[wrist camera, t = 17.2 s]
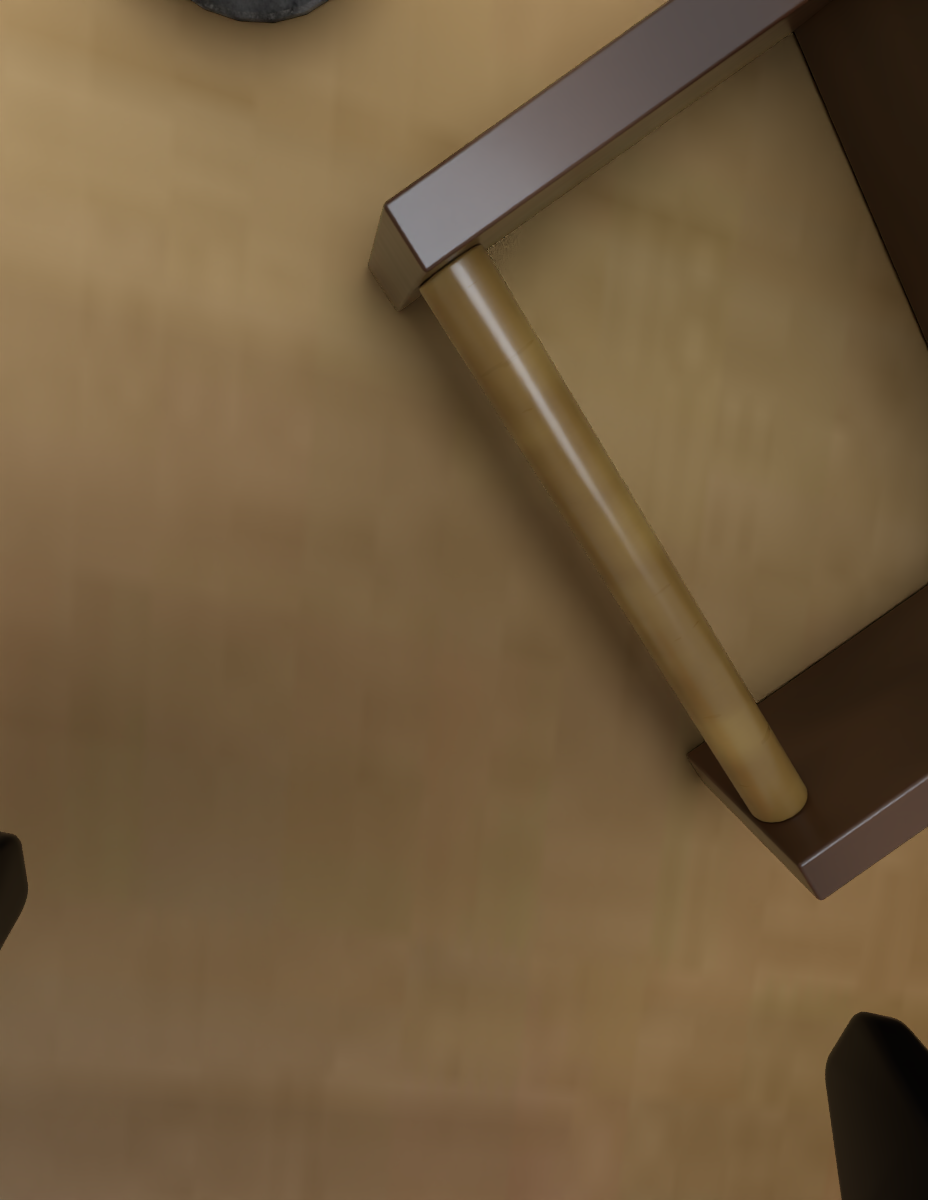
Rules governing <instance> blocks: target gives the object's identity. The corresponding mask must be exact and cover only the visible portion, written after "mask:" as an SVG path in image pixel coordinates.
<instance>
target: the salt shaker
mask: <svg viewBox="0 0 928 1200" xmlns="http://www.w3.org/2000/svg"><path fill="white" fill-rule="evenodd" d="M192 1H193V2H195V3H196V4H198V5H199V6H201V7H202V8H204V9H206V10H209V11H212V12H215V13H218V14H221V15H224V16H227V17H229V18H232V19H235V20H238V21H254V22H272V23H274V22H277V21H281V20H285V19H289V18H293V17H297V16H301V15H305V14H307V13H309V12H310V11H312V10H313V9H315V8H317V7H318V6H320V5H321V4H323V3H325V2H326V1H328V0H192Z"/></svg>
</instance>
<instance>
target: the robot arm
mask: <svg viewBox="0 0 928 1200" xmlns="http://www.w3.org/2000/svg"><path fill="white" fill-rule="evenodd" d="M27 894H28V882H27V876H26V869H25V863H24V856H23V850H22V844H21V841H20V840H19V838H18V837H17V836H16V835H13V834H10V833H5V832H0V949H1V948H2V946H3V944H4V942H5V940H6V939H7V937H8V935H9V933H10V931H11V930H12V928H13V926H14V924H15V922H16V921H17V919H18V917H19V915H20V914H21V912H22V910H23V907H24V905H25V902H26V899H27ZM825 1080H826V1089H827V1096H828V1104H829V1111H830V1118H831V1126H832V1133H833V1140H834V1147H835V1155H836V1162H837V1169H838V1177H839V1184H840V1191H841V1198H842V1200H928V1050H927V1048H926V1047H925V1046H924V1045H923V1044H922V1043H921V1042H920V1040H919V1039H918V1038H917V1037H916V1036H915V1035H914V1033H913V1032H912V1031H911V1030H910V1029H909V1028H908V1027H907V1026H906V1025H905V1024H904V1023H902V1022H901V1021H899V1020H898V1019H895V1018H892V1017H887V1016H883V1015H878V1014H873V1013H868V1012H860V1013H857V1014H855V1015H854V1016H853V1017H852V1019H851V1020H850V1022H849V1024H848V1025H847V1027H846V1028H845V1030H844V1032H843V1033H842V1035H841V1036H840V1038H839V1040H838V1041H837V1043H836V1045H835V1046H834V1048H833V1049H832V1051H831V1053H830V1054H829V1057H828V1060H827V1063H826V1070H825Z"/></svg>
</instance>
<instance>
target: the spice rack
mask: <svg viewBox="0 0 928 1200" xmlns="http://www.w3.org/2000/svg"><path fill="white" fill-rule="evenodd" d="M793 31H794V32H795V34H796V37H797V39H798V41H799V44H800V46H801V48H802V51H803V53H804V56H805V58H806V60H807V63H808V65H809V67H810V70H811V72H812V74H813V77H814V79H815V81H816V84H817V86H818V88H819V91H820V93H821V95H822V98H823V100H824V102H825V105H826V107H827V109H828V112H829V114H830V116H831V119H832V121H833V123H834V126H835V128H836V130H837V133H838V135H839V137H840V140H841V142H842V145H843V147H844V149H845V152H846V154H847V156H848V159H849V161H850V163H851V166H852V168H853V170H854V173H855V175H856V177H857V180H858V182H859V184H860V187H861V189H862V191H863V194H864V196H865V198H866V201H867V203H868V205H869V208H870V210H871V212H872V215H873V217H874V219H875V222H876V224H877V226H878V229H879V231H880V234H881V236H882V238H883V241H884V243H885V245H886V248H887V250H888V252H889V255H890V257H891V259H892V262H893V264H894V266H895V269H896V271H897V273H898V276H899V278H900V280H901V283H902V285H903V287H904V290H905V292H906V294H907V297H908V299H909V301H910V304H911V306H912V308H913V311H914V313H915V315H916V318H917V320H918V323H919V325H920V327H921V330H922V332H923V334H924V337H925V339H926V341H927V344H928V0H669V1H667V2H666V3H664V4H663V5H662V6H660V7H659V8H657V9H656V10H655V11H653V12H652V13H650V14H649V15H648V16H646V17H645V18H643V19H642V20H641V21H639V22H638V23H636V24H635V25H634V26H632V27H631V28H629V29H628V30H627V31H625V32H624V33H622V34H621V35H620V36H618V37H617V38H615V39H614V40H612V41H611V42H610V43H608V44H607V45H605V46H604V47H603V48H601V49H600V50H598V51H597V52H596V53H594V54H593V55H591V56H590V57H589V58H587V59H586V60H584V61H583V62H582V63H580V64H579V65H577V66H576V67H575V68H573V69H572V70H570V71H569V72H568V73H566V74H565V75H563V76H562V77H561V78H559V79H558V80H556V81H555V82H554V83H552V84H551V85H549V86H548V87H547V88H545V89H544V90H542V91H541V92H539V93H538V94H537V95H535V96H534V97H532V98H531V99H530V100H528V101H527V102H525V103H524V104H523V105H521V106H520V107H518V108H517V109H516V110H514V111H513V112H511V113H510V114H509V115H507V116H506V117H504V118H503V119H502V120H500V121H499V122H497V123H496V124H495V125H493V126H492V127H490V128H489V129H488V130H486V131H485V132H483V133H482V134H481V135H479V136H478V137H476V138H475V139H474V140H472V141H471V142H469V143H468V144H466V145H465V146H464V147H462V148H461V149H459V150H458V151H457V152H455V153H454V154H452V155H451V156H450V157H448V158H447V159H445V160H444V161H443V162H441V163H440V164H438V165H437V166H436V167H434V168H433V169H431V170H430V171H429V172H427V173H426V174H424V175H423V176H422V177H420V178H419V179H417V180H416V181H415V182H413V183H412V184H410V185H409V186H408V187H406V188H405V189H403V190H402V191H400V192H399V193H398V194H396V195H395V196H393V197H392V198H391V199H389V200H388V201H386V202H385V204H384V205H383V209H382V212H381V216H380V220H379V224H378V228H377V232H376V236H375V240H374V243H373V247H372V251H371V255H370V259H369V263H368V267H369V269H370V271H371V272H372V274H373V275H374V277H375V278H376V280H377V281H378V283H379V284H380V286H381V288H382V289H383V291H384V292H385V294H386V295H387V297H388V298H389V300H390V301H391V303H392V304H393V306H394V308H395V309H396V310H397V311H401V310H402V309H403V308H405V307H406V306H408V305H409V304H410V303H412V302H413V301H415V300H416V299H417V298H419V297H420V296H423V297H424V299H425V300H426V302H427V304H428V305H429V307H430V308H431V310H432V311H433V313H434V315H435V316H436V318H437V319H438V321H439V322H440V324H441V326H442V327H443V329H444V330H445V332H446V333H447V335H448V337H449V338H450V340H451V341H452V343H453V345H454V346H455V348H456V349H457V351H458V352H459V354H460V356H461V357H462V359H463V360H464V362H465V363H466V365H467V367H468V368H469V370H470V371H471V373H472V374H473V376H474V378H475V379H476V381H477V382H478V384H479V385H480V387H481V389H482V390H483V392H484V393H485V395H486V396H487V398H488V400H489V401H490V403H491V404H492V406H493V407H494V409H495V411H496V412H497V414H498V415H499V417H500V418H501V420H502V422H503V423H504V425H505V426H506V428H507V430H508V431H509V433H510V434H511V436H512V437H513V439H514V441H515V442H516V444H517V445H518V447H519V448H520V450H521V452H522V453H523V455H524V456H525V458H526V459H527V461H528V463H529V464H530V466H531V467H532V469H533V470H534V472H535V474H536V475H537V477H538V478H539V480H540V481H541V483H542V485H543V486H544V488H545V489H546V491H547V492H548V494H549V496H550V497H551V499H552V500H553V502H554V504H555V505H556V507H557V508H558V510H559V511H560V513H561V515H562V516H563V518H564V519H565V521H566V522H567V524H568V526H569V527H570V529H571V530H572V532H573V533H574V535H575V537H576V538H577V540H578V541H579V543H580V544H581V546H582V548H583V549H584V551H585V552H586V554H587V555H588V557H589V559H590V560H591V562H592V563H593V565H594V566H595V568H596V570H597V571H598V573H599V574H600V576H601V577H602V579H603V581H604V582H605V584H606V585H607V587H608V589H609V590H610V592H611V593H612V595H613V596H614V598H615V600H616V601H617V603H618V604H619V606H620V607H621V609H622V611H623V612H624V614H625V615H626V617H627V618H628V620H629V622H630V623H631V625H632V626H633V628H634V629H635V631H636V633H637V634H638V636H639V637H640V639H641V640H642V642H643V644H644V645H645V647H646V648H647V650H648V651H649V653H650V655H651V656H652V658H653V659H654V661H655V662H656V664H657V666H658V667H659V669H660V670H661V672H662V674H663V675H664V677H665V678H666V680H667V681H668V683H669V685H670V686H671V688H672V689H673V691H674V692H675V694H676V696H677V697H678V699H679V700H680V702H681V703H682V705H683V707H684V708H685V710H686V711H687V713H688V714H689V716H690V718H691V719H692V721H693V722H694V724H695V725H696V727H697V729H698V730H699V732H700V733H701V735H702V736H703V738H704V740H705V742H704V743H702V744H701V745H700V746H698V747H697V748H695V749H694V750H692V751H691V752H690V753H688V755H687V757H688V759H689V761H690V762H691V764H692V765H693V767H694V768H695V770H696V772H697V773H698V775H699V776H700V778H701V779H702V781H703V782H704V784H705V785H706V786H707V787H708V788H709V789H710V790H711V791H712V792H713V793H714V794H715V795H716V796H717V797H718V798H719V799H720V800H721V801H722V802H723V803H724V804H725V805H726V806H727V807H728V808H729V809H730V810H731V811H732V812H733V813H734V814H735V815H736V816H737V817H738V818H739V819H740V820H741V821H742V822H743V824H744V825H745V826H746V827H747V828H748V829H749V830H750V831H751V832H752V833H753V834H754V835H755V836H756V837H757V838H758V839H759V840H760V841H761V842H762V843H763V844H764V845H765V846H766V847H767V848H768V849H769V850H770V851H771V852H772V853H773V854H774V855H775V856H776V857H777V858H778V859H779V860H780V861H781V862H782V863H783V864H784V865H785V866H786V867H787V868H788V869H789V870H790V871H791V873H792V874H793V875H794V876H795V877H796V878H797V879H798V880H799V881H800V882H801V883H802V884H803V885H804V886H805V887H806V888H807V889H808V890H809V891H810V892H811V893H812V894H813V895H814V896H815V897H816V898H817V899H819V900H824V899H825V898H826V897H828V896H829V895H831V894H832V893H834V892H835V891H836V890H838V889H839V888H841V887H842V886H844V885H845V884H846V883H848V882H849V881H851V880H852V879H854V878H855V877H856V876H858V875H859V874H861V873H862V872H864V871H865V870H866V869H868V868H869V867H871V866H872V865H874V864H875V863H876V862H878V861H879V860H881V859H882V858H884V857H885V856H886V855H888V854H889V853H891V852H892V851H894V850H895V849H896V848H898V847H899V846H901V845H902V844H904V843H905V842H906V841H908V840H909V839H911V838H912V837H914V836H915V835H916V834H918V833H919V832H921V831H922V830H924V829H925V828H926V827H928V585H927V586H926V587H924V588H923V589H921V590H920V591H919V592H917V593H916V594H914V595H913V596H911V597H910V598H909V599H907V600H906V601H904V602H903V603H901V604H900V605H899V606H897V607H896V608H894V609H893V610H892V611H890V612H889V613H887V614H886V615H884V616H883V617H882V618H880V619H879V620H877V621H876V622H874V623H873V624H872V625H870V626H869V627H867V628H866V629H864V630H863V631H862V632H860V633H859V634H857V635H856V636H855V637H853V638H852V639H850V640H849V641H847V642H846V643H845V644H843V645H842V646H840V647H839V648H837V649H836V650H835V651H833V652H832V653H830V654H829V655H828V656H826V657H825V658H823V659H822V660H820V661H819V662H818V663H816V664H815V665H813V666H812V667H810V668H809V669H808V670H806V671H805V672H803V673H802V674H800V675H799V676H798V677H796V678H795V679H793V680H792V681H791V682H789V683H788V684H786V685H785V686H783V687H782V688H781V689H779V690H778V691H776V692H775V693H773V694H772V695H771V696H769V697H768V698H766V699H765V700H764V701H762V702H761V703H759V704H758V705H757V704H756V702H755V701H754V699H753V697H752V696H751V694H750V692H749V691H748V689H747V687H746V685H745V684H744V682H743V680H742V679H741V677H740V675H739V674H738V672H737V670H736V669H735V667H734V665H733V664H732V662H731V660H730V659H729V657H728V655H727V654H726V652H725V650H724V649H723V647H722V645H721V644H720V642H719V640H718V639H717V637H716V635H715V634H714V632H713V630H712V628H711V627H710V625H709V623H708V622H707V620H706V618H705V617H704V615H703V613H702V612H701V610H700V608H699V607H698V605H697V603H696V602H695V600H694V598H693V597H692V595H691V593H690V592H689V590H688V588H687V587H686V585H685V583H684V582H683V580H682V578H681V576H680V575H679V573H678V571H677V570H676V568H675V566H674V565H673V563H672V561H671V560H670V558H669V556H668V555H667V553H666V551H665V550H664V548H663V546H662V545H661V543H660V541H659V540H658V538H657V536H656V535H655V533H654V531H653V530H652V528H651V526H650V525H649V523H648V521H647V519H646V518H645V516H644V514H643V513H642V511H641V509H640V508H639V506H638V504H637V503H636V501H635V499H634V498H633V496H632V494H631V493H630V491H629V489H628V488H627V486H626V484H625V483H624V481H623V479H622V478H621V476H620V474H619V473H618V471H617V469H616V467H615V466H614V464H613V462H612V461H611V459H610V457H609V456H608V454H607V452H606V451H605V449H604V447H603V446H602V444H601V442H600V441H599V439H598V437H597V436H596V434H595V432H594V431H593V429H592V427H591V426H590V424H589V422H588V421H587V419H586V417H585V416H584V414H583V412H582V410H581V409H580V407H579V405H578V404H577V402H576V400H575V399H574V397H573V395H572V394H571V392H570V390H569V389H568V387H567V385H566V384H565V382H564V380H563V379H562V377H561V375H560V374H559V372H558V370H557V369H556V367H555V365H554V364H553V362H552V360H551V358H550V357H549V355H548V353H547V352H546V350H545V348H544V347H543V345H542V343H541V342H540V340H539V338H538V337H537V335H536V333H535V332H534V330H533V328H532V327H531V325H530V323H529V322H528V320H527V318H526V317H525V315H524V313H523V312H522V310H521V308H520V307H519V305H518V303H517V301H516V300H515V298H514V296H513V295H512V293H511V291H510V290H509V288H508V286H507V285H506V283H505V281H504V280H503V278H502V276H501V275H500V273H499V271H498V270H497V268H496V266H495V265H494V263H493V261H492V260H491V258H490V256H489V255H488V253H487V251H486V249H488V248H489V247H491V246H492V245H493V244H495V243H496V242H498V241H499V240H500V239H502V238H503V237H505V236H506V235H508V234H509V233H510V232H512V231H513V230H515V229H516V228H517V227H519V226H520V225H522V224H523V223H524V222H526V221H527V220H529V219H530V218H531V217H533V216H534V215H536V214H537V213H538V212H540V211H541V210H543V209H544V208H545V207H547V206H548V205H550V204H551V203H553V202H554V201H555V200H557V199H558V198H560V197H561V196H562V195H564V194H565V193H567V192H568V191H569V190H571V189H572V188H574V187H575V186H576V185H578V184H579V183H581V182H582V181H583V180H585V179H586V178H588V177H589V176H591V175H592V174H593V173H595V172H596V171H598V170H599V169H600V168H602V167H603V166H605V165H606V164H607V163H609V162H610V161H612V160H613V159H614V158H616V157H617V156H619V155H620V154H621V153H623V152H624V151H626V150H627V149H628V148H630V147H631V146H633V145H634V144H636V143H637V142H638V141H640V140H641V139H643V138H644V137H645V136H647V135H648V134H650V133H651V132H652V131H654V130H655V129H657V128H658V127H659V126H661V125H662V124H664V123H665V122H666V121H668V120H669V119H671V118H672V117H674V116H675V115H676V114H678V113H679V112H681V111H682V110H683V109H685V108H686V107H688V106H689V105H690V104H692V103H693V102H695V101H696V100H697V99H699V98H700V97H702V96H703V95H704V94H706V93H707V92H709V91H710V90H711V89H713V88H714V87H716V86H717V85H719V84H720V83H721V82H723V81H724V80H726V79H727V78H728V77H730V76H731V75H733V74H734V73H735V72H737V71H738V70H740V69H741V68H742V67H744V66H745V65H747V64H748V63H749V62H751V61H752V60H754V59H755V58H757V57H758V56H759V55H761V54H762V53H764V52H765V51H766V50H768V49H769V48H771V47H772V46H773V45H775V44H776V43H778V42H779V41H780V40H782V39H783V38H785V37H786V36H787V35H789V34H790V33H792V32H793Z"/></svg>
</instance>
